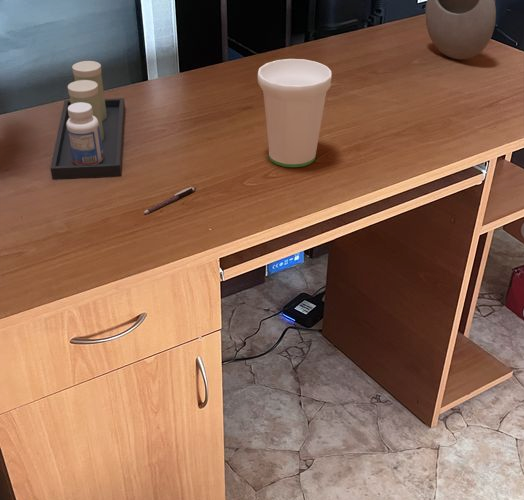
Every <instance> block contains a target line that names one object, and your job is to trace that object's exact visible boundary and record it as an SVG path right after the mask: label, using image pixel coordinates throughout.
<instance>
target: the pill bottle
mask: <svg viewBox="0 0 524 500" xmlns="http://www.w3.org/2000/svg"><path fill="white" fill-rule="evenodd" d="M68 115H69V117H70V118H69V119H68V121H67V124H66V125H67V131H68V137H69V142H70V148H71V153H72V159H73V162H74V163H75V164H77V165H91V164H99V163H100V162H102V160H103V158H104V156H103V149H102V142H101V136H100V129H99V123H98V120H97V118H96V117H95V116H93V111H92V106H91V105H90V104H88V103H84V102H79V103H74V104H71V105H70V106H69V107H68Z"/></svg>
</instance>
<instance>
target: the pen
mask: <svg viewBox="0 0 524 500" xmlns="http://www.w3.org/2000/svg"><path fill="white" fill-rule="evenodd" d="M196 189H197V187H193V186H190V187H187V188H185V189H182V190H180V191H178V192H177V193H175V194H174V195H173V196H171V197H168V198H167V199H165V200H162V201H161V202H159V203H156V204H155V205H152V206H151V207H149V208H146V209H145V210H144V211H143V213H142V214H145V215H146V214H150V213H152V212H154V211H156V210H158V209H161V208H163V207H165V206H167V205H170V204H171V203H174V202H175V201H178V200H179V199H181V198H184V197H186V196H187V195H190V194H191V193H193V192H195V190H196Z"/></svg>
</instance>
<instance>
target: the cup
mask: <svg viewBox="0 0 524 500" xmlns="http://www.w3.org/2000/svg"><path fill="white" fill-rule="evenodd" d="M332 76H333V71H332V70H331V69H330V68H329V67H328V66H327V65H325V64H323V63H320V62H318V61H314V60H309V59H306V58H305V59H304V58H285V59H284V58H283V59H276V60H273V61H269V62H266V63H264V64H263V65H261V66H260V67H259V68H258V71H257V84H258V86H259V87H260V88H261V90H262V92H263V93H262V94H263V103H264V112H265V113H264V114H265V123H266V133H267V143H268V158H269V160H270V161H271V162H272V163H273V164H275V165H277V166H280V167H284V168H303V167H306V166H308V165H310V164H312V163H313V162H314V161H316V155H317V149H318V144H319V138H320V132H321V126H322V121H323V115H324V108H325V102H326V97H327V92H328V91H329V90H330V88H331V87H332V86H331V85H332Z"/></svg>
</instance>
